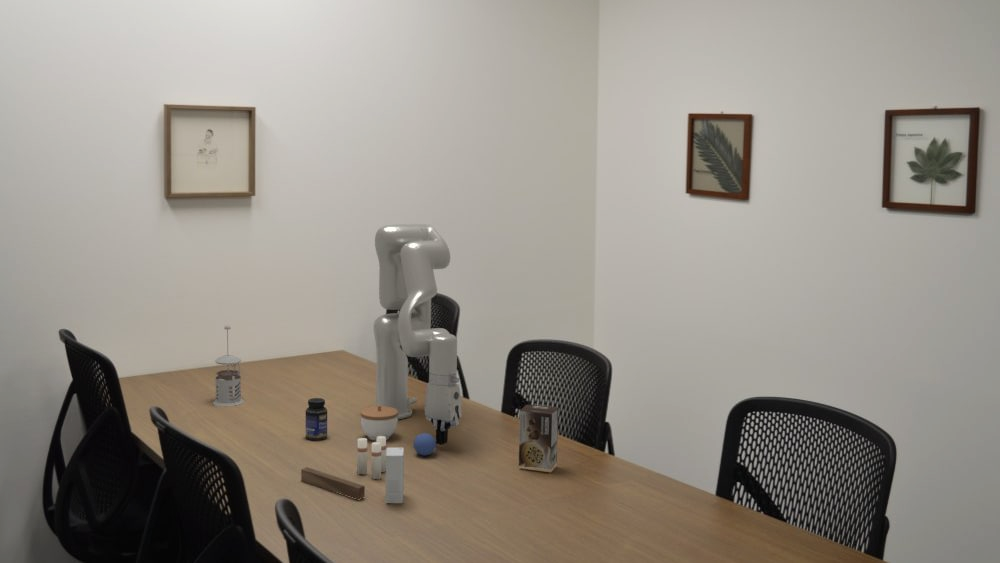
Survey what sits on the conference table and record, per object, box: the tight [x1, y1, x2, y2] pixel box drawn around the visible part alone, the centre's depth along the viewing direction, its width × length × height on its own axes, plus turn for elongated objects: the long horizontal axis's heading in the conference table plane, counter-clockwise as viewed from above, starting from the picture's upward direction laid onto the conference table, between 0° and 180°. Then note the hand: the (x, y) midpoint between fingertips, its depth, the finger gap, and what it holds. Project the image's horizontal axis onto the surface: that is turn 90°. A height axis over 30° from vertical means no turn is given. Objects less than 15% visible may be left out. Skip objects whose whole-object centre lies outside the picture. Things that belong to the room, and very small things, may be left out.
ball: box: [413, 432, 437, 456], centre depth 262 cm, size 6×6×6 cm
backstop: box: [300, 466, 366, 500], centre depth 235 cm, size 2×20×3 cm, turn 53°
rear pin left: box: [370, 441, 382, 480], centre depth 243 cm, size 2×2×9 cm
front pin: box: [376, 436, 387, 473], centre depth 248 cm, size 2×2×9 cm
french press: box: [212, 325, 245, 407], centre depth 306 cm, size 10×12×25 cm
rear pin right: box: [356, 437, 368, 475], centre depth 246 cm, size 2×2×9 cm
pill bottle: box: [305, 397, 328, 441], centre depth 274 cm, size 6×6×11 cm
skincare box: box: [385, 447, 405, 504], centre depth 229 cm, size 6×4×12 cm
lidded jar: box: [359, 405, 399, 442], centre depth 276 cm, size 11×11×9 cm
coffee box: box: [518, 404, 559, 469], centre depth 253 cm, size 9×6×16 cm
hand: (441, 443), depth 267 cm, fingers closed
